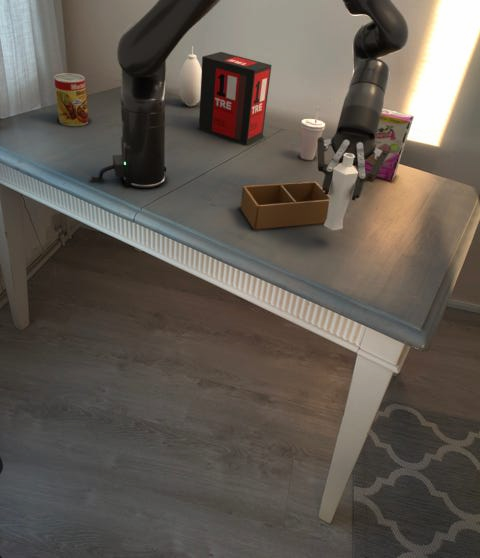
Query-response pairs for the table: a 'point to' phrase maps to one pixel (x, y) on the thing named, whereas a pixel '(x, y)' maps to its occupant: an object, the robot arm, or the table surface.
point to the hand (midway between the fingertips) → (340, 195)
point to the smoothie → (310, 136)
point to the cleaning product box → (233, 97)
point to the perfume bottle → (341, 192)
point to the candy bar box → (390, 142)
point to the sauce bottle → (190, 81)
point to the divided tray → (284, 204)
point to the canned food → (71, 99)
